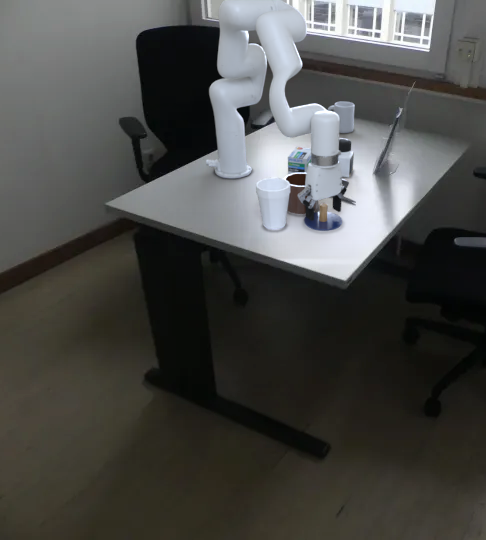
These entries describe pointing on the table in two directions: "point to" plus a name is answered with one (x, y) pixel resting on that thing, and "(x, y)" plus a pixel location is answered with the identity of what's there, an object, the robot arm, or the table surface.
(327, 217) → the lid
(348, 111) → the mug
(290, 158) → the light bulb box
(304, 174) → the brown cup
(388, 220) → the table surface
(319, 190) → the robot arm
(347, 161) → the medicine bottle
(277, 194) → the foam cup
